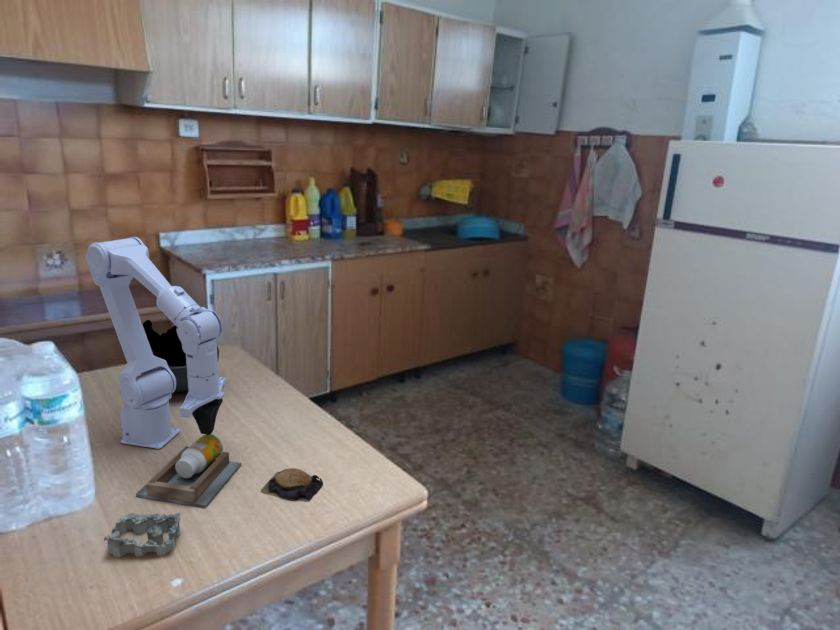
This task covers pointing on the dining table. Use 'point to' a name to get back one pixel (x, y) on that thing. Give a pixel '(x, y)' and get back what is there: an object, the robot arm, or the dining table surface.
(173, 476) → the cradle
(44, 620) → the dining table surface
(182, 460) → the supplement bottle
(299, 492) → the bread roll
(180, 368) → the bowl of black rocks
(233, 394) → the dining table surface
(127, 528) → the egg carton
